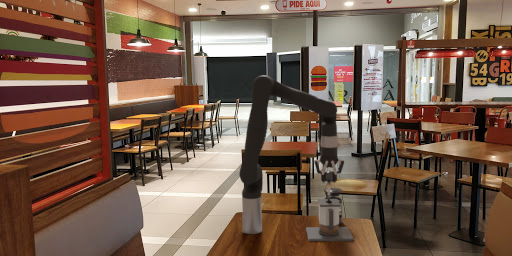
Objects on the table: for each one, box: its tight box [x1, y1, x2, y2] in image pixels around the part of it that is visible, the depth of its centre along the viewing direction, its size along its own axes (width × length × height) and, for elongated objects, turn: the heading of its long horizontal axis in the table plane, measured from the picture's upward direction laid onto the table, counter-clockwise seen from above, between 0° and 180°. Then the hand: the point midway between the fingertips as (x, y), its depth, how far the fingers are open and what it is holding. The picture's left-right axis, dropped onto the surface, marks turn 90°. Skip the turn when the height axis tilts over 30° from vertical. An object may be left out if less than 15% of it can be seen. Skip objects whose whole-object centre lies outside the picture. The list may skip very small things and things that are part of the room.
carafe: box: [317, 198, 341, 237], centre depth 186 cm, size 9×12×15 cm
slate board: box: [305, 226, 354, 242], centre depth 189 cm, size 20×14×1 cm
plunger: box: [324, 170, 334, 203], centre depth 186 cm, size 4×4×15 cm
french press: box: [323, 181, 343, 226], centre depth 204 cm, size 12×9×23 cm
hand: (329, 181), depth 186 cm, fingers closed on plunger, 4 cm apart
